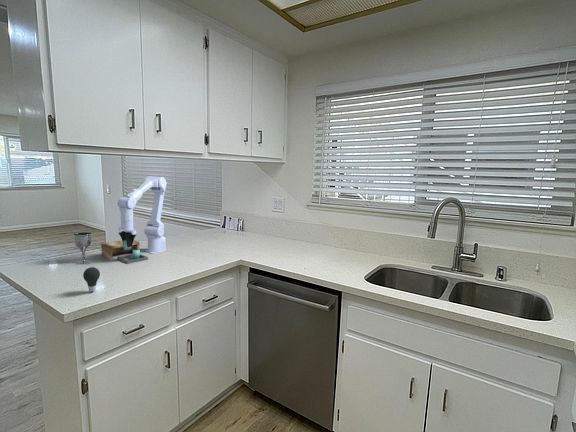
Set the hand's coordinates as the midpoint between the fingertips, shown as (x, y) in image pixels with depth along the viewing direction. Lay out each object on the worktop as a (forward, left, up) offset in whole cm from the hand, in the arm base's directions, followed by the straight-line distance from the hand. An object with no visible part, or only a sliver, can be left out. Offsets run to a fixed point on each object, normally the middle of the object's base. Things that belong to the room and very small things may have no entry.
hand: (127, 246), depth 165 cm
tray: (-3, 0, -9) cm, 9 cm away
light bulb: (+29, +31, -8) cm, 44 cm away
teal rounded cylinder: (-4, 0, -8) cm, 9 cm away
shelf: (-3, -13, -8) cm, 15 cm away
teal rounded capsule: (0, 0, -2) cm, 2 cm away
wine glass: (+16, -12, -8) cm, 22 cm away
